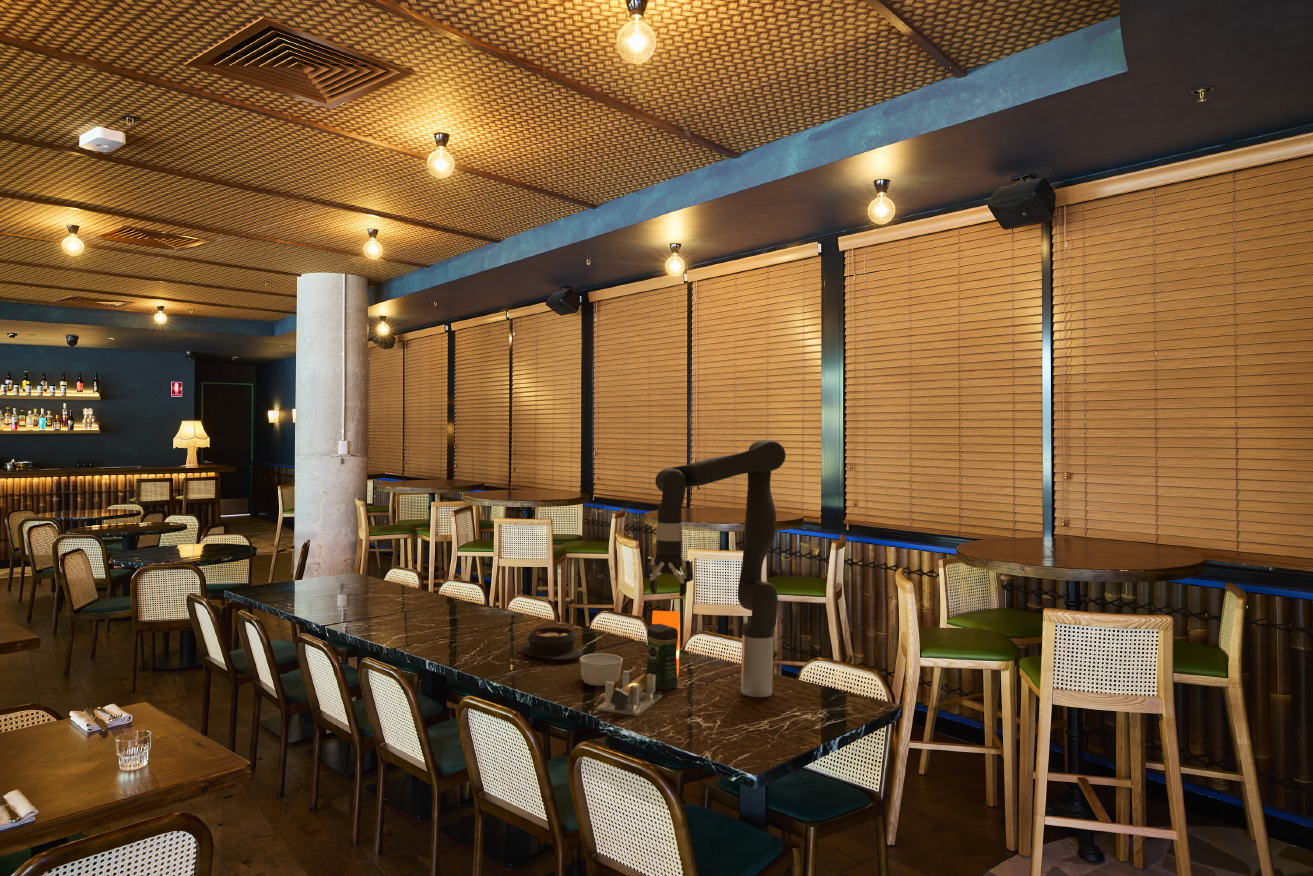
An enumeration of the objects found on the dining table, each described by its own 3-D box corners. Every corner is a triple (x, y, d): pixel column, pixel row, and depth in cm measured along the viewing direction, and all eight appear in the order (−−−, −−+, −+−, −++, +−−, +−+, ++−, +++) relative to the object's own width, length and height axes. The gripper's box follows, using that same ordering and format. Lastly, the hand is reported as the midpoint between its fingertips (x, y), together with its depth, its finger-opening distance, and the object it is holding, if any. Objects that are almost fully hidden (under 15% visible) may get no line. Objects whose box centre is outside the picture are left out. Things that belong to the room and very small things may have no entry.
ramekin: (627, 677, 248) (628, 655, 248) (614, 689, 236) (614, 666, 236) (588, 673, 252) (588, 651, 252) (572, 684, 239) (573, 661, 239)
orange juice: (678, 677, 249) (679, 614, 249) (650, 676, 249) (651, 613, 250) (678, 670, 257) (680, 609, 257) (651, 669, 257) (653, 608, 258)
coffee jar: (681, 688, 238) (683, 626, 238) (660, 692, 233) (662, 629, 233) (662, 680, 246) (663, 620, 246) (641, 684, 241) (642, 623, 241)
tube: (637, 684, 232) (641, 671, 231) (649, 690, 230) (653, 677, 230) (609, 702, 214) (614, 688, 214) (622, 709, 213) (627, 695, 212)
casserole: (508, 653, 274) (509, 628, 275) (552, 644, 287) (552, 621, 287) (550, 668, 256) (551, 642, 256) (595, 659, 269) (596, 634, 269)
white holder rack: (624, 691, 233) (624, 667, 233) (661, 697, 229) (662, 673, 229) (597, 709, 216) (597, 684, 217) (637, 716, 212) (637, 689, 212)
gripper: (696, 538, 228) (695, 595, 227) (651, 535, 233) (650, 590, 233) (688, 541, 221) (686, 599, 220) (641, 538, 226) (640, 594, 226)
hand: (668, 594), depth 227 cm, fingers open, 8 cm apart
